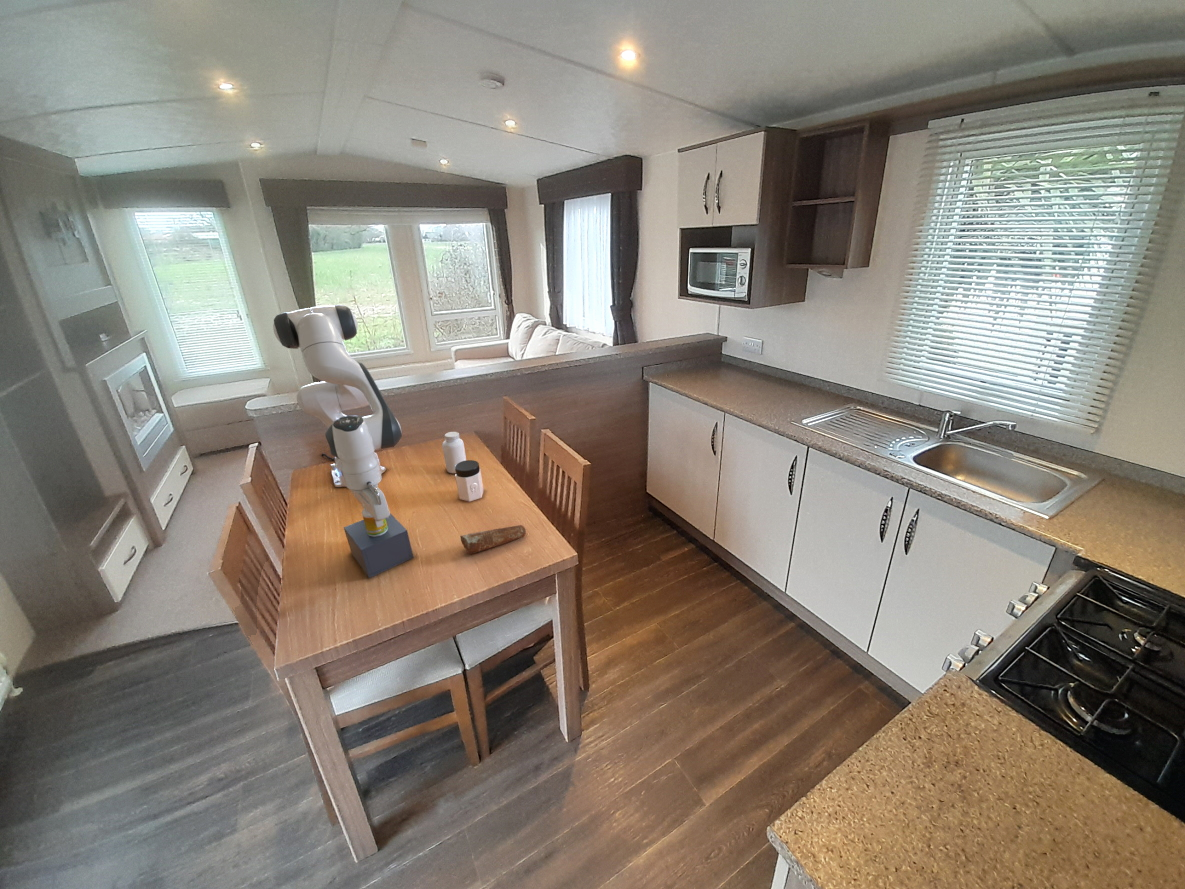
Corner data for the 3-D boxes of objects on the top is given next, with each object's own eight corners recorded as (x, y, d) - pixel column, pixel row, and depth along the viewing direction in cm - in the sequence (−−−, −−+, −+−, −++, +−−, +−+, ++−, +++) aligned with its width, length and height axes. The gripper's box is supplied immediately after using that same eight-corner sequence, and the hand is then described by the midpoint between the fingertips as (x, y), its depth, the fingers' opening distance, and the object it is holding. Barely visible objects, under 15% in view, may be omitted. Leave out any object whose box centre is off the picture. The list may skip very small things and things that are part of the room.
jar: (463, 504, 163) (458, 473, 158) (455, 494, 169) (450, 464, 164) (488, 496, 168) (483, 466, 163) (479, 486, 174) (474, 457, 169)
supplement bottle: (387, 535, 132) (379, 505, 128) (366, 538, 130) (358, 508, 126) (388, 524, 136) (381, 495, 132) (368, 528, 135) (360, 498, 131)
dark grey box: (351, 554, 140) (343, 527, 136) (394, 536, 148) (387, 510, 143) (369, 578, 130) (361, 550, 126) (413, 557, 138) (407, 530, 134)
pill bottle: (471, 465, 189) (466, 431, 183) (460, 475, 182) (454, 439, 176) (454, 463, 192) (448, 429, 185) (442, 472, 185) (436, 437, 179)
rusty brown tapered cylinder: (461, 547, 141) (459, 532, 139) (523, 530, 148) (521, 515, 146) (466, 560, 136) (463, 544, 134) (529, 541, 143) (528, 526, 141)
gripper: (389, 485, 121) (400, 530, 127) (361, 460, 135) (373, 501, 140) (364, 495, 117) (376, 541, 123) (338, 467, 131) (350, 510, 137)
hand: (374, 519), depth 132 cm, fingers open, 6 cm apart
